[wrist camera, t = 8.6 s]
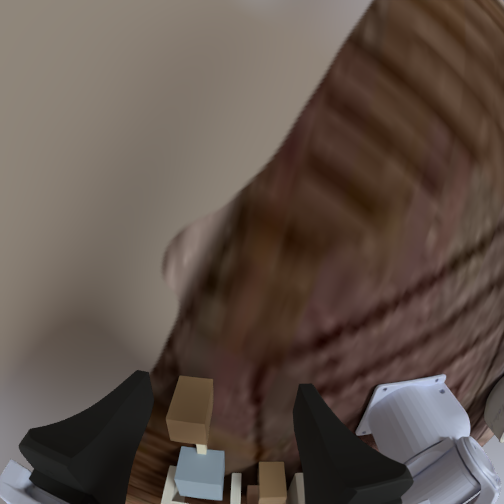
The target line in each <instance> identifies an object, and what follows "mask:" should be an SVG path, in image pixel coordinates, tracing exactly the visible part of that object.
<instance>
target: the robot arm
mask: <svg viewBox="0 0 504 504" xmlns="http://www.w3.org/2000/svg"><path fill="white" fill-rule="evenodd" d="M445 379H446V375H445V374H442V375H437V376H432V377H427V378H421V379H415V380H409V381H403V382H396V383H389V384H381V385H378V386H377V387H376V388H375V390H374V392H373V395H372V397H371V400H370V402H369V404H368V406H367V409H366V411H365V413H364V415H363V417H362V420H361V422H360V424H359V426H358V428H357V430H356V432H355V433H356V435H357V436H360V435H366V434H372V435H373V437H374V440H375V442H376V445H377V447H378V450H379V452H380V453H379V452H378V451H376V450H375V449H373V448H372V447H370V446H369V445H367V444H366V443H364V442H363V441H362V440H360V439H359V438H358V437H357V436H356V435H354V434H353V433H352V432H351V431H350V430H349V429H348V428H347V427H346V426H345V425H344V424H343V423H342V422H341V421H340V420H339V419H338V417H337V416H336V415H335V414H334V413H333V412H332V410H331V409H330V408H329V407H328V405H327V404H326V403H325V401H324V400H323V399H322V397H321V396H320V394H319V393H318V391H317V390H316V388H315V387H314V385H313V384H299V387H298V392H297V396H296V400H295V405H294V409H293V421H294V431H295V436H296V441H297V445H298V450H299V455H300V459H301V464H302V470H303V481H304V496H305V504H463V503H464V502H466V501H467V500H468V499H470V498H471V497H473V496H474V495H475V494H477V493H478V492H479V491H481V492H480V493H479V494H478V495H477V496H476V497H475V498H473V499H472V500H471V501H469V502H468V503H466V504H495V503H496V501H497V499H498V497H499V494H500V491H501V480H500V478H499V476H498V475H497V473H496V472H495V469H494V466H493V464H492V462H491V460H490V459H489V457H488V455H487V454H486V452H485V451H484V450H483V448H482V447H481V446H480V445H479V444H478V443H477V441H475V440H474V439H473V438H472V437H469V434H470V421H469V417H468V415H467V413H466V411H465V410H464V409H463V407H462V406H461V405H460V403H459V402H458V401H457V399H456V398H455V397H454V395H453V394H452V393H451V391H450V390H449V389H448V387H447V386H446V385H445V384H444V381H445ZM153 404H154V397H153V392H152V388H151V382H150V377H149V372H145V371H139V370H137V371H135V372H134V373H133V374H132V375H131V376H130V377H128V378H127V379H126V380H125V381H124V382H123V383H122V384H120V385H119V386H118V387H117V388H116V389H114V391H112V392H111V393H109V394H108V395H107V396H105V397H104V398H103V399H102V400H100V401H99V402H97V403H96V404H95V405H93V406H91V407H89V408H88V409H86V410H84V411H82V412H81V413H79V414H76V415H74V416H72V417H70V418H67V419H65V420H63V421H60V422H57V423H54V424H50V425H47V426H42V427H38V428H32V429H30V430H29V431H28V433H27V434H26V435H25V437H24V438H23V440H22V441H21V443H20V444H19V449H20V452H21V453H22V454H23V456H24V457H25V458H26V459H27V461H28V462H29V463H30V464H31V465H32V467H33V468H34V470H33V472H31V471H29V470H28V469H27V468H25V467H24V466H22V465H20V464H19V463H17V462H16V461H14V460H12V459H11V460H10V461H9V463H8V464H7V466H6V468H5V469H4V471H3V473H2V474H1V476H0V498H2V499H3V500H4V501H5V502H6V503H7V504H125V501H126V494H127V488H128V483H129V478H130V473H131V469H132V464H133V460H134V457H135V454H136V451H137V448H138V446H139V443H140V441H141V438H142V436H143V433H144V431H145V429H146V426H147V424H148V421H149V419H150V415H151V412H152V408H153Z"/></svg>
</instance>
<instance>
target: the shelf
mask: <svg viewBox="0 0 504 504" xmlns="http://www.w3.org/2000/svg"><path fill="white" fill-rule="evenodd" d="M176 469H177V467H176V466H171V465H170V467H169V471H168V475H167V479H166V483H165V488H164V492H163V496H162V500H161V504H187V503H184V500H185V496H181V495H180V494H179V491H178V488H177V485H176V483H175V480H174V478H175V473H176ZM285 502H286V504H305V496H304V481H303V473H295V475H294V477H293V480H292V482H291V484H290V487H289V489H288V491H287V498H286V500H285ZM230 504H241V473H232V483H231V501H230Z"/></svg>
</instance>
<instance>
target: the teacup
mask: <svg viewBox="0 0 504 504" xmlns="http://www.w3.org/2000/svg"><path fill="white" fill-rule="evenodd" d="M484 419H485V422H486V424H487V425H488V427H489V428H490V429H491V431H492V432H493V433H494V434H495V435H496V437H497V438H498V439H499V442H500V443H503V442H504V376H503V377H502V378H501V379H500V380H499V381H498V383H497V384H496V385H495V387H494V388H493V389H492V391H491V393H490V394H489V396H488V398H487V401H486V407H485V411H484Z"/></svg>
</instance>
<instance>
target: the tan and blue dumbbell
mask: <svg viewBox="0 0 504 504" xmlns="http://www.w3.org/2000/svg"><path fill="white" fill-rule="evenodd" d="M212 408H213V379H207V378H197V377H188V376H179V379H178V382H177V385H176V389H175V392H174V395H173V398H172V401H171V404H170V407H169V410H168V413H167V416H166V422H167V427H168V431H169V435H170V439H171V440H172V441H178V442H185V443H192V444H196V446H197V448H190V447H183V446H182V447H181V451H180V455H179V460H178V464H177V469H176V473H175V478H174V480H175V483H176V485H177V488H178V491H179V494H180V495H181V496H188V497H195V498H202V499H211V500H222V496H223V484H224V471H225V464H224V451H217V450H207V440H208V434H209V427H210V421H211V414H212Z"/></svg>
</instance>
